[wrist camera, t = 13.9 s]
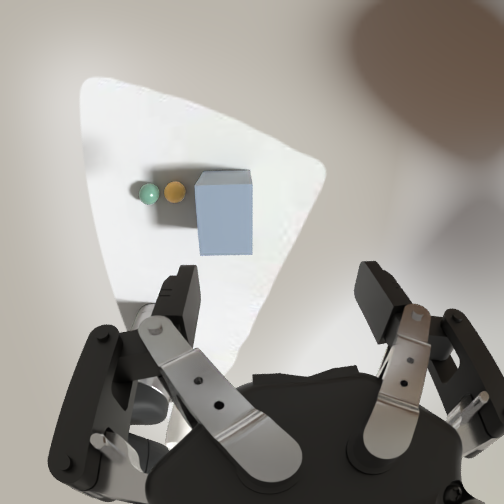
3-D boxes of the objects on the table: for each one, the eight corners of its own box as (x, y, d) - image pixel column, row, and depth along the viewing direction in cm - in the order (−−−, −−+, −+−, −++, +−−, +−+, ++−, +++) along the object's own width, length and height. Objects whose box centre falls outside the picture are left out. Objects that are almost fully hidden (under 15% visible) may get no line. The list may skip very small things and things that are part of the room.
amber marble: (188, 198, 38) (184, 205, 35) (168, 199, 38) (162, 206, 35) (186, 178, 37) (182, 183, 34) (166, 180, 36) (160, 185, 34)
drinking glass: (171, 401, 63) (165, 448, 50) (172, 389, 60) (164, 440, 47) (196, 405, 64) (192, 453, 51) (198, 393, 61) (194, 445, 48)
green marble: (162, 200, 38) (157, 206, 35) (144, 201, 38) (137, 208, 35) (160, 180, 36) (154, 185, 34) (141, 182, 36) (134, 187, 34)
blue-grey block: (203, 171, 36) (194, 185, 29) (249, 170, 36) (252, 184, 29) (206, 229, 40) (200, 255, 33) (250, 228, 41) (252, 254, 34)
